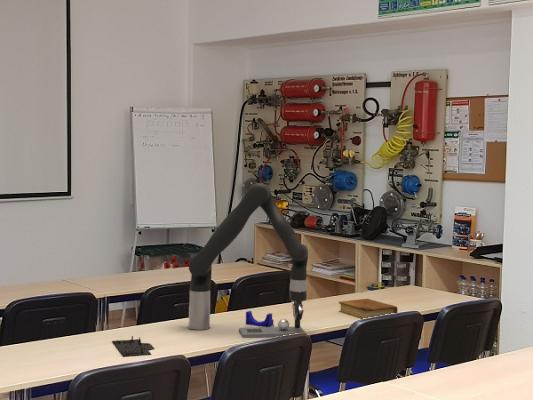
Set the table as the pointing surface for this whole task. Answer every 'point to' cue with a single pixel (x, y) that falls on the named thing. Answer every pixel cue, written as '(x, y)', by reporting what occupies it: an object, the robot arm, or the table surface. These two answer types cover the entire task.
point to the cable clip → (251, 321)
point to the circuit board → (133, 347)
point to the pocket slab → (268, 331)
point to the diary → (366, 308)
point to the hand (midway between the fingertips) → (297, 327)
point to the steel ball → (283, 324)
